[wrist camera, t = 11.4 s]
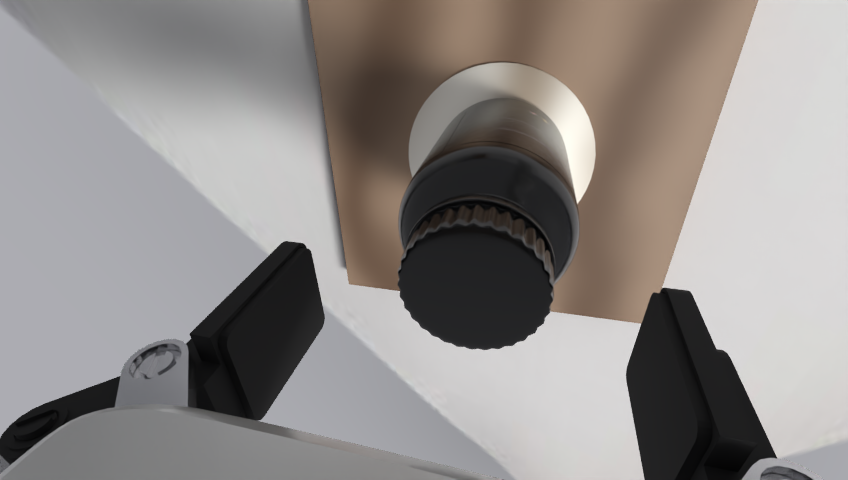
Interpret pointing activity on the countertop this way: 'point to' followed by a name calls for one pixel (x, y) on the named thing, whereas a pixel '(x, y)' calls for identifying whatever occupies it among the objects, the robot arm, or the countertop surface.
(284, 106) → the countertop surface
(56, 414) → the robot arm
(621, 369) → the countertop surface
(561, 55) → the walnut board
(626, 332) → the countertop surface
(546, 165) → the supplement bottle
